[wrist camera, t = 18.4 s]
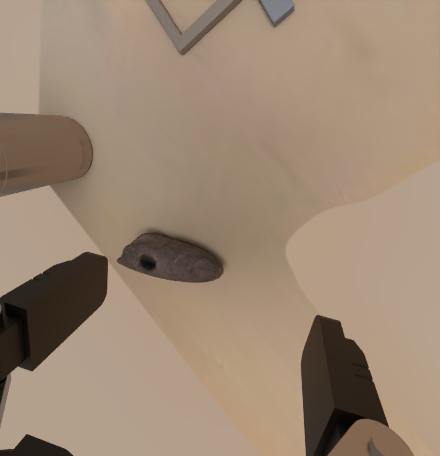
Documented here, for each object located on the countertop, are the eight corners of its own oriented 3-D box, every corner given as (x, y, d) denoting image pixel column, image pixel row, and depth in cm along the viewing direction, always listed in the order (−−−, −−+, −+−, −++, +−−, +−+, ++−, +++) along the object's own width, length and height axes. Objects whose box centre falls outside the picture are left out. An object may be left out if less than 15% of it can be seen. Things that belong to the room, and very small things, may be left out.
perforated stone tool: (230, 250, 43) (221, 271, 37) (222, 279, 45) (212, 304, 39) (139, 221, 45) (114, 237, 39) (135, 251, 47) (111, 270, 40)
